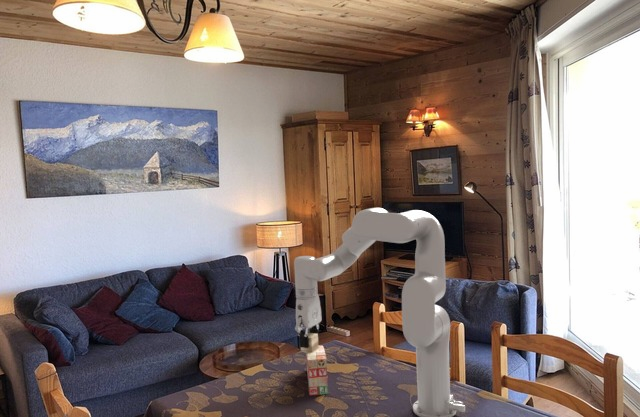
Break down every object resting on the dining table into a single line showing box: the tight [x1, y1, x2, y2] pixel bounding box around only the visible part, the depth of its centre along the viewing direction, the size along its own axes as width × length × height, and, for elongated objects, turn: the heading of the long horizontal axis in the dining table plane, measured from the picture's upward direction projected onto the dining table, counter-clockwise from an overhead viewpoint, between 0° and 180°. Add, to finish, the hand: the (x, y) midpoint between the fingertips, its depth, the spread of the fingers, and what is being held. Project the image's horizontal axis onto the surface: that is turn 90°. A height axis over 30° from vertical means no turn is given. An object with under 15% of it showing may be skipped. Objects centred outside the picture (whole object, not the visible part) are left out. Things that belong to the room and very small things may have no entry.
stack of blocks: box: [305, 345, 329, 396], centre depth 175 cm, size 21×6×12 cm, turn 4°
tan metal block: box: [300, 332, 320, 353], centre depth 173 cm, size 4×4×5 cm
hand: (309, 343), depth 173 cm, fingers open, 6 cm apart
